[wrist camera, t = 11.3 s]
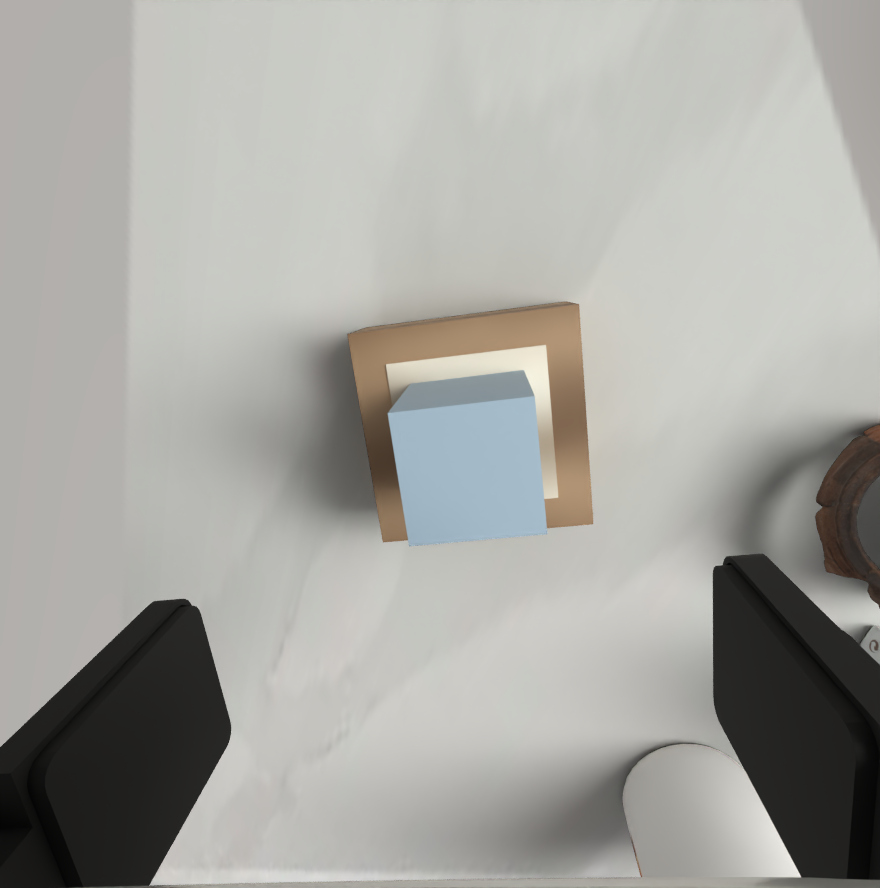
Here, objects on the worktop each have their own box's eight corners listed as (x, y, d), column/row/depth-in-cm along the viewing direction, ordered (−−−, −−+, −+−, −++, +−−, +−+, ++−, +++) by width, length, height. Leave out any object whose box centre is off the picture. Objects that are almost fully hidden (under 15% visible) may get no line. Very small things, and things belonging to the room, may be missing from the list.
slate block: (410, 383, 25) (387, 413, 19) (523, 369, 25) (534, 396, 19) (426, 489, 26) (409, 546, 21) (534, 478, 26) (547, 534, 20)
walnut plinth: (366, 327, 29) (346, 334, 25) (566, 301, 28) (579, 304, 24) (395, 510, 31) (382, 543, 27) (580, 493, 30) (593, 524, 26)
